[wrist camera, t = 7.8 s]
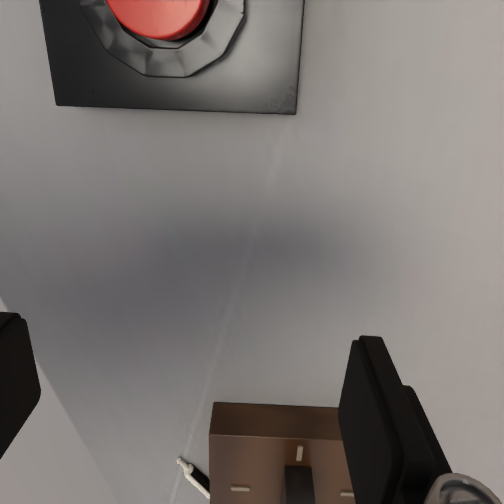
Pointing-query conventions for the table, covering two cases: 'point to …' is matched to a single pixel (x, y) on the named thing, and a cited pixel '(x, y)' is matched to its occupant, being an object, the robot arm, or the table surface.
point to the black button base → (177, 58)
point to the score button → (160, 16)
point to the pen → (196, 478)
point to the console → (275, 453)
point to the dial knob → (298, 486)
